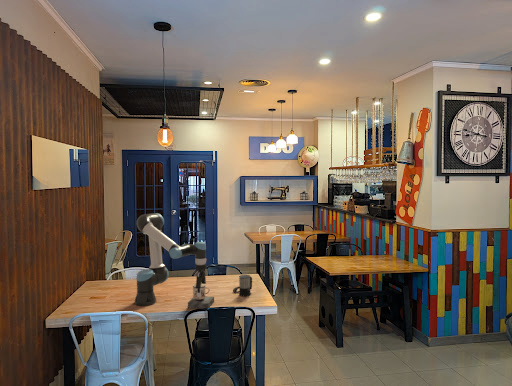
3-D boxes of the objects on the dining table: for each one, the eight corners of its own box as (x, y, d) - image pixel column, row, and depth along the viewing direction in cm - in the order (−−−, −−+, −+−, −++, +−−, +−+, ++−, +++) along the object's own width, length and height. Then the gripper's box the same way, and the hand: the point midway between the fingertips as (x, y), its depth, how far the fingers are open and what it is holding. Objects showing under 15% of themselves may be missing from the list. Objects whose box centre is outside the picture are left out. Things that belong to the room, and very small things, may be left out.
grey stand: (187, 308, 261) (187, 302, 261) (194, 301, 276) (194, 295, 276) (208, 309, 259) (208, 303, 259) (214, 302, 274) (214, 296, 274)
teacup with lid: (193, 300, 262) (192, 283, 262) (192, 296, 271) (192, 280, 271) (210, 299, 265) (210, 282, 264) (209, 295, 274) (209, 279, 273)
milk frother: (249, 297, 285) (249, 278, 285) (229, 295, 289) (229, 276, 288) (253, 291, 299) (253, 273, 299) (234, 290, 303) (234, 272, 302)
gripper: (201, 267, 255) (201, 299, 256) (209, 260, 277) (210, 290, 278) (191, 267, 256) (191, 299, 257) (200, 260, 278) (200, 290, 279)
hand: (201, 294), depth 268 cm, fingers closed on teacup with lid, 9 cm apart
